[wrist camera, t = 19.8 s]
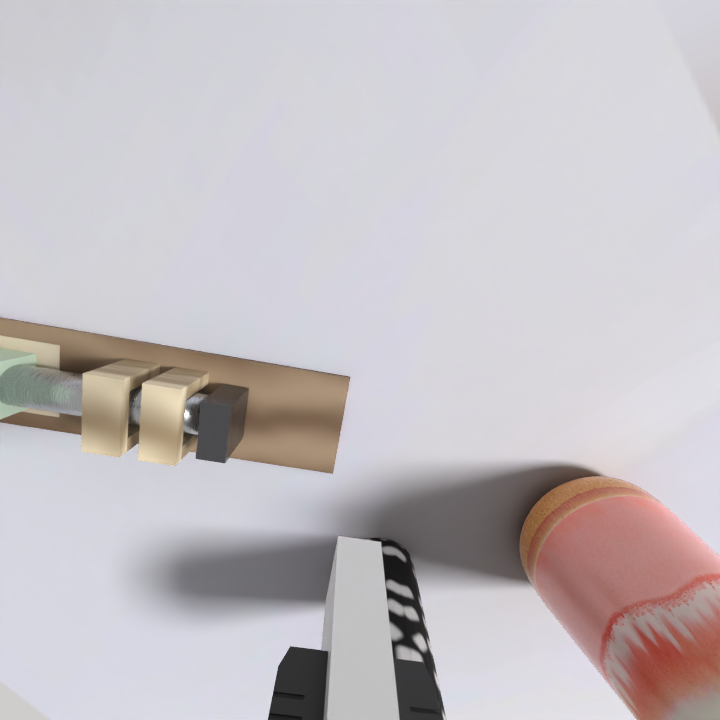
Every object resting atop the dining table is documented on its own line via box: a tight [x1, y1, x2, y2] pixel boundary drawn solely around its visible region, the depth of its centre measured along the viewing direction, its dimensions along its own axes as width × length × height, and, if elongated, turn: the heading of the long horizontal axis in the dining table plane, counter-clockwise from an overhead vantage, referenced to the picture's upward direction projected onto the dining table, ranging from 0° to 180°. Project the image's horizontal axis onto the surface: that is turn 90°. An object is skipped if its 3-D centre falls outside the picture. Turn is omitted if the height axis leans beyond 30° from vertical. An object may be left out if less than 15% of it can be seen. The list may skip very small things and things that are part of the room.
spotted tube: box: [366, 538, 446, 720], centre depth 29 cm, size 8×8×20 cm
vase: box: [520, 476, 720, 720], centre depth 24 cm, size 14×14×30 cm
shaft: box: [0, 364, 249, 463], centre depth 31 cm, size 5×19×5 cm, turn 80°
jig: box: [0, 318, 350, 474], centre depth 30 cm, size 10×39×8 cm, turn 80°
